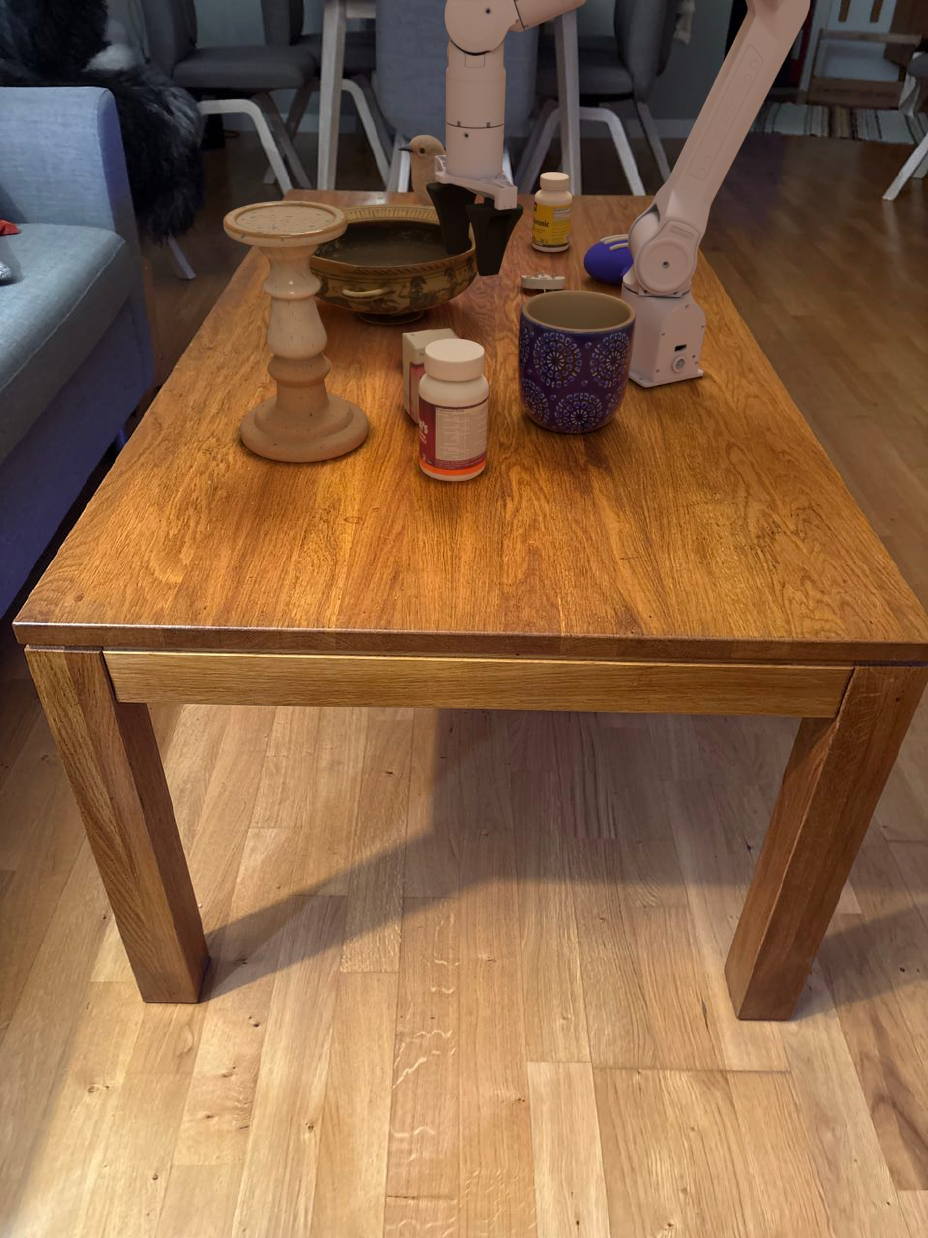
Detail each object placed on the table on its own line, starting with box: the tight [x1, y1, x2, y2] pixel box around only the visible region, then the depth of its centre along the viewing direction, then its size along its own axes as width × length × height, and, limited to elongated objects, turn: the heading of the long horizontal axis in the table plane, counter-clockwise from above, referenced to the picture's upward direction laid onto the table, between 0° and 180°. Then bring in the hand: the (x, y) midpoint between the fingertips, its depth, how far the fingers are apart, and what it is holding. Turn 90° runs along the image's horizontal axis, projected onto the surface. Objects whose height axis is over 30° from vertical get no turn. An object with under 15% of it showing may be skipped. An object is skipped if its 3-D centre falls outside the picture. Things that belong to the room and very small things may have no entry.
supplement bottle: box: [531, 171, 573, 253], centre depth 139 cm, size 5×5×10 cm
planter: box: [517, 289, 636, 435], centre depth 94 cm, size 11×11×11 cm
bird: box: [397, 134, 477, 207], centre depth 136 cm, size 5×14×15 cm, turn 105°
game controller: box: [520, 270, 566, 292], centre depth 124 cm, size 6×12×3 cm, turn 15°
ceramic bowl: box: [310, 203, 478, 326], centre depth 116 cm, size 30×24×10 cm
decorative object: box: [582, 233, 634, 285], centre depth 128 cm, size 10×6×10 cm
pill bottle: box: [418, 338, 490, 482], centre depth 86 cm, size 6×6×11 cm
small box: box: [402, 327, 460, 424], centre depth 96 cm, size 5×4×8 cm
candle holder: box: [222, 200, 370, 463], centre depth 88 cm, size 12×12×20 cm
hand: (471, 263), depth 103 cm, fingers open, 7 cm apart
